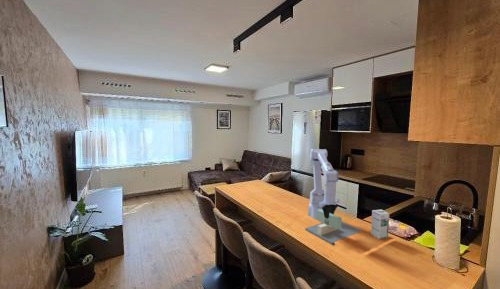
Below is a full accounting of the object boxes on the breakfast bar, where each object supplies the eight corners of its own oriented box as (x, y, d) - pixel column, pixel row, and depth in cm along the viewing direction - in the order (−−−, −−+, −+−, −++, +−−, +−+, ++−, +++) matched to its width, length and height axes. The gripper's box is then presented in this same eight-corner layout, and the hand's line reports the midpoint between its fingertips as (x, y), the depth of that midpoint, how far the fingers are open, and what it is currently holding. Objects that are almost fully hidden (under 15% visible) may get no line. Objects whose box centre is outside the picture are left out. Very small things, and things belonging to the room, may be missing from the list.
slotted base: (305, 229, 128) (305, 220, 127) (335, 220, 142) (335, 211, 141) (331, 244, 113) (332, 234, 112) (362, 232, 127) (363, 222, 126)
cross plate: (316, 219, 129) (316, 210, 129) (320, 218, 131) (320, 209, 130) (337, 229, 117) (338, 219, 117) (341, 228, 119) (341, 218, 118)
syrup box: (378, 241, 117) (381, 213, 116) (370, 235, 123) (372, 209, 122) (387, 239, 119) (390, 213, 117) (378, 234, 124) (380, 208, 123)
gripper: (327, 197, 115) (325, 223, 116) (344, 193, 123) (343, 217, 124) (316, 193, 121) (315, 218, 122) (333, 189, 129) (332, 212, 130)
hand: (328, 217), depth 124 cm, fingers closed on cross plate, 3 cm apart
